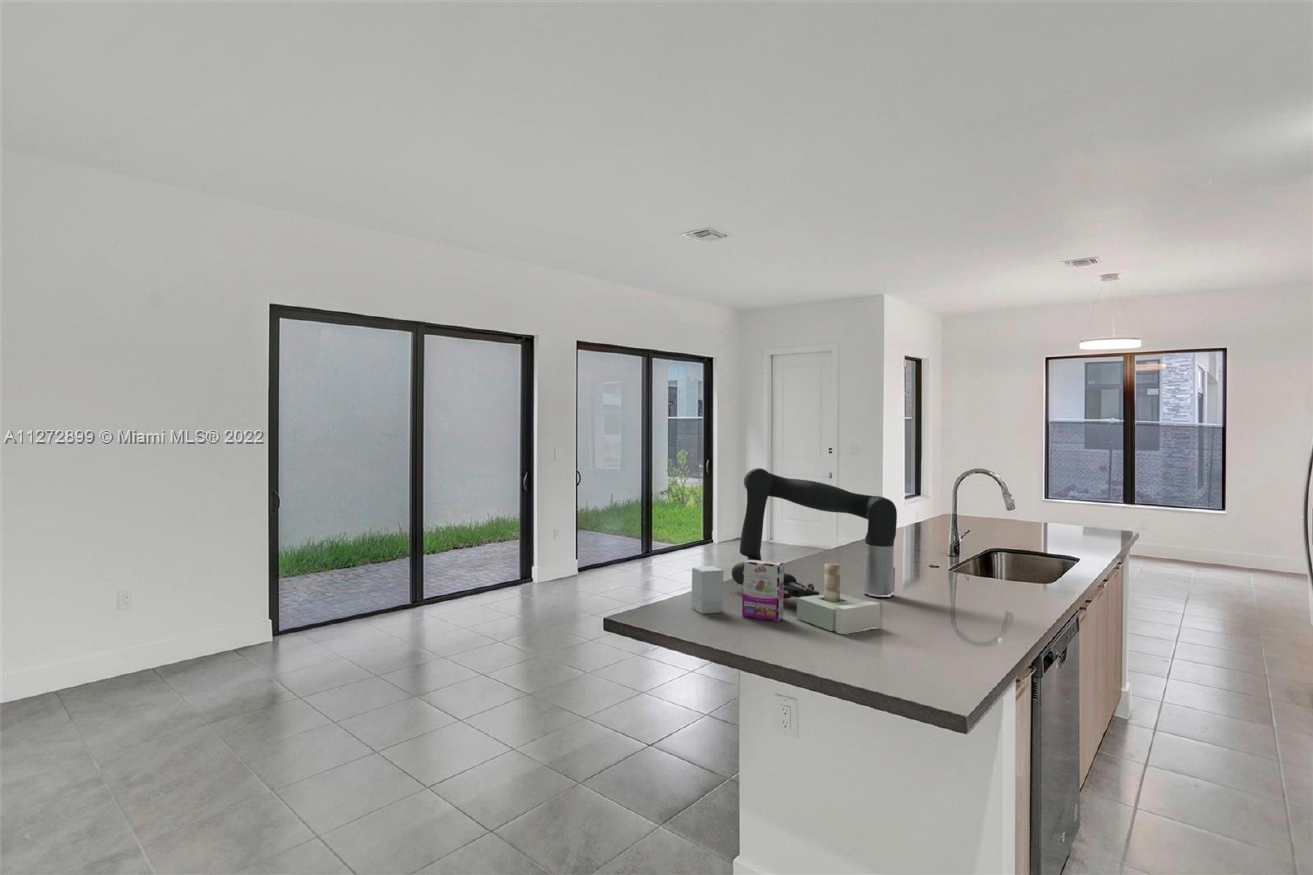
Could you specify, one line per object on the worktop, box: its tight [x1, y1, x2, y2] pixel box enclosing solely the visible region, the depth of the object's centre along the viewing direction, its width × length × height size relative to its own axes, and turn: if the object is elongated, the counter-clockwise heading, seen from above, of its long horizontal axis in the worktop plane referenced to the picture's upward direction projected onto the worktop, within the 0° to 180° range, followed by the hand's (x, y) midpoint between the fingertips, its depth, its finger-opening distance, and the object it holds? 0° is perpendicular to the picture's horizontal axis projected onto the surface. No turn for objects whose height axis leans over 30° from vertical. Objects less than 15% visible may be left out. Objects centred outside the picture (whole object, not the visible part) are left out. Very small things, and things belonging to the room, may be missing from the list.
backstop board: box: [834, 600, 881, 634], centre depth 186 cm, size 14×3×7 cm, turn 120°
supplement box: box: [690, 565, 724, 614], centre depth 203 cm, size 7×7×13 cm
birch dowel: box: [823, 562, 841, 603], centre depth 194 cm, size 4×4×14 cm
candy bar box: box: [741, 558, 785, 623], centre depth 196 cm, size 11×5×16 cm, turn 62°
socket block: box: [796, 592, 869, 632], centre depth 193 cm, size 16×14×6 cm
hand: (817, 595), depth 199 cm, fingers closed
